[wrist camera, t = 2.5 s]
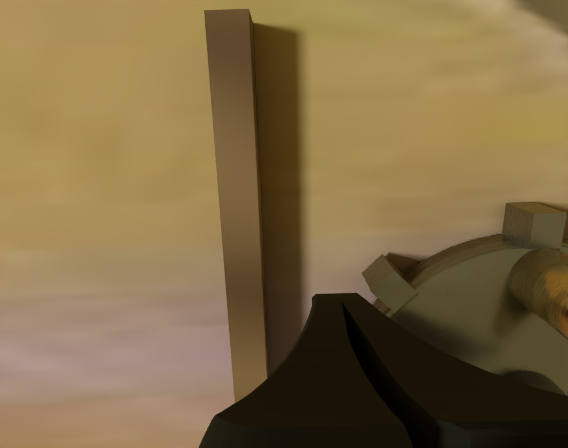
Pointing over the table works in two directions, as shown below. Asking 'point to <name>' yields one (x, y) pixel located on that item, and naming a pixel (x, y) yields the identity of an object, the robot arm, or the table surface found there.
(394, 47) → the table surface
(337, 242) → the table surface
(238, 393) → the guide rails
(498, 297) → the sprocket
